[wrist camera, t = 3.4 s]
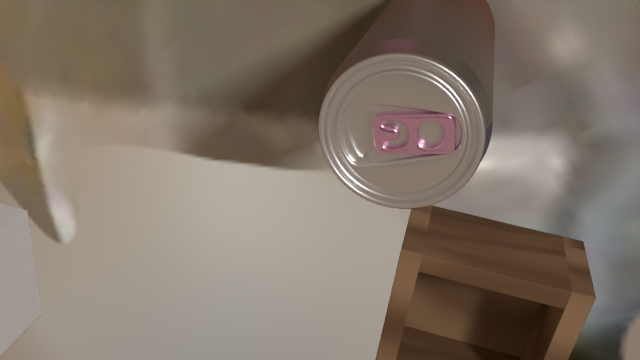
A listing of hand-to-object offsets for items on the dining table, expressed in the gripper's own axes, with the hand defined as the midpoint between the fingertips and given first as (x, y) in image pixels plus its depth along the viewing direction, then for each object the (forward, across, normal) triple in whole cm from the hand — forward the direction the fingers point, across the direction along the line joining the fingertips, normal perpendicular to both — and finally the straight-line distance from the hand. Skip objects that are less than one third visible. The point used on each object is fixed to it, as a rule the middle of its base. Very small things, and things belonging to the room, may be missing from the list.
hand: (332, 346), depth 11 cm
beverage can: (+25, 0, 0) cm, 25 cm away
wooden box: (+25, +6, -16) cm, 30 cm away
